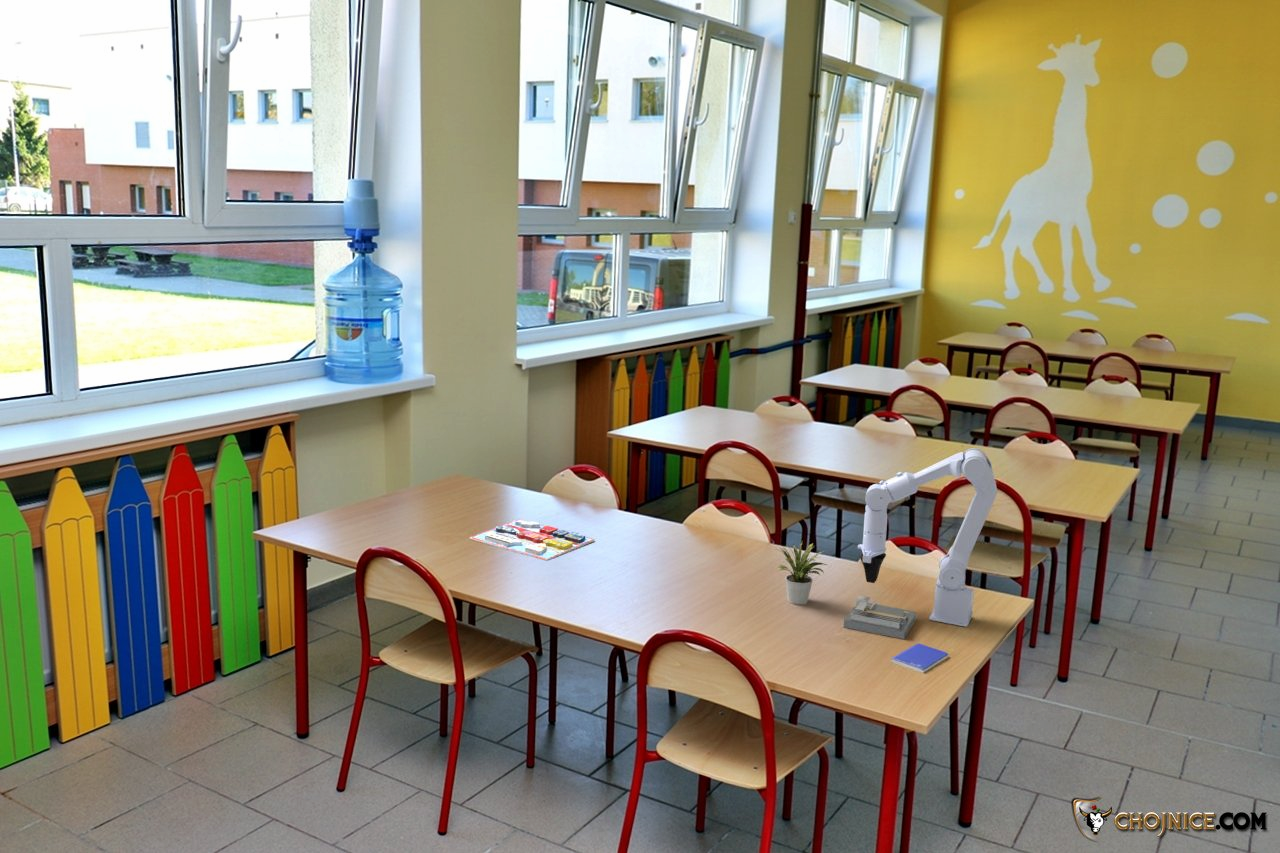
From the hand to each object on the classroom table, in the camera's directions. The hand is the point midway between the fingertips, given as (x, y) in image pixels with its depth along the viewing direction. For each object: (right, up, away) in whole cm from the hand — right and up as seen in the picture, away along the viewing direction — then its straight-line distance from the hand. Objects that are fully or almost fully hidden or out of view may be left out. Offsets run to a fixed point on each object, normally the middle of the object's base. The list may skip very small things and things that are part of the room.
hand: (871, 581), depth 283 cm
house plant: (-19, -6, +4) cm, 21 cm away
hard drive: (+5, -15, -28) cm, 32 cm away
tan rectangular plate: (0, -8, -9) cm, 12 cm away
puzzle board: (-92, +5, +48) cm, 104 cm away
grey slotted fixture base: (+1, -9, -8) cm, 12 cm away
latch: (-4, -7, -6) cm, 10 cm away
